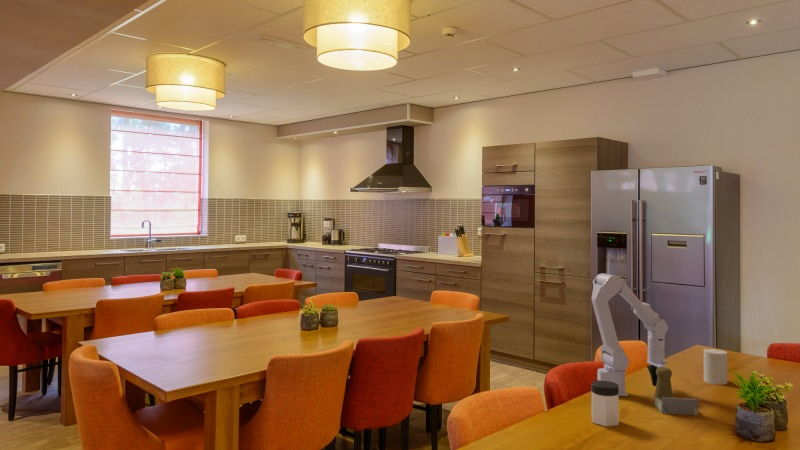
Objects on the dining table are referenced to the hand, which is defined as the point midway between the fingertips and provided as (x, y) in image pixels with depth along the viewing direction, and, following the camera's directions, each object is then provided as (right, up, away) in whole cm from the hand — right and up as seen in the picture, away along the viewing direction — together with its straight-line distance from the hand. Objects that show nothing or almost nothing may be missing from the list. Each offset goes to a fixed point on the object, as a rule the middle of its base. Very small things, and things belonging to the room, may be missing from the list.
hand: (656, 385), depth 205 cm
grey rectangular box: (-3, -2, -21) cm, 21 cm away
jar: (-31, -2, -32) cm, 44 cm away
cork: (-1, -2, -9) cm, 9 cm away
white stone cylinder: (+29, -2, +12) cm, 31 cm away
